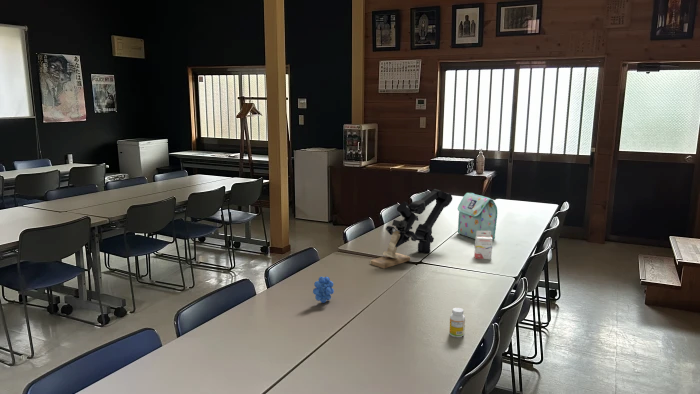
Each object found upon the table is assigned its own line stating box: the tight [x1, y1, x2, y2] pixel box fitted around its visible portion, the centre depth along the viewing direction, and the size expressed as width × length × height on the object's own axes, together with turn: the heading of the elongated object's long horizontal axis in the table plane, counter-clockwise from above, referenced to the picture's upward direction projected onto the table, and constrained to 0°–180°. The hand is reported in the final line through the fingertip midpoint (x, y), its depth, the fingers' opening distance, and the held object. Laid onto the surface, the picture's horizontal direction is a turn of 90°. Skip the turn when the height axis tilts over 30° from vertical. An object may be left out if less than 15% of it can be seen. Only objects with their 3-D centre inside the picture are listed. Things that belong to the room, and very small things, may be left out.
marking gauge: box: [382, 231, 400, 259], centre depth 269 cm, size 5×6×14 cm
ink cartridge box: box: [473, 231, 494, 260], centre depth 275 cm, size 9×5×15 cm, turn 84°
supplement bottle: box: [449, 307, 466, 338], centre depth 186 cm, size 5×5×10 cm
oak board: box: [370, 252, 411, 269], centre depth 269 cm, size 20×10×2 cm, turn 132°
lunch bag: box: [457, 192, 498, 240], centre depth 317 cm, size 23×16×27 cm
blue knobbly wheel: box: [312, 276, 335, 304], centre depth 214 cm, size 12×7×12 cm, turn 138°
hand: (393, 246), depth 269 cm, fingers closed on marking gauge, 3 cm apart
